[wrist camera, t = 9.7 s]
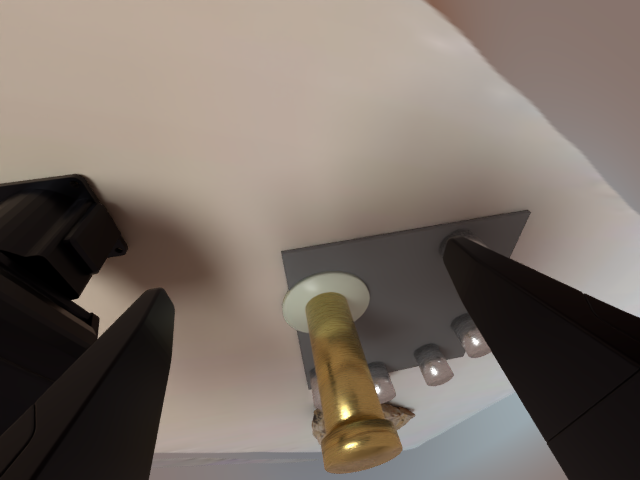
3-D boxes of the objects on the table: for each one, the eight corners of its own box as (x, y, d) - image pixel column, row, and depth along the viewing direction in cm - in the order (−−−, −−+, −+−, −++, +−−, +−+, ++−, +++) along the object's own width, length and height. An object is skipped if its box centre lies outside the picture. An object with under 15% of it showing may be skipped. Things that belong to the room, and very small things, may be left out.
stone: (298, 449, 44) (349, 451, 38) (299, 400, 48) (346, 395, 42) (378, 442, 57) (425, 443, 51) (374, 404, 60) (418, 401, 55)
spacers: (304, 376, 39) (308, 408, 36) (459, 223, 27) (486, 251, 23) (387, 388, 46) (397, 415, 43) (540, 271, 34) (569, 298, 31)
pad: (288, 335, 32) (289, 340, 32) (275, 280, 27) (276, 285, 26) (366, 320, 33) (367, 324, 33) (369, 263, 28) (371, 268, 27)
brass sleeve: (303, 327, 31) (326, 479, 21) (297, 294, 28) (322, 456, 18) (352, 318, 32) (398, 461, 22) (352, 284, 28) (407, 435, 18)
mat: (308, 387, 42) (308, 389, 41) (281, 251, 25) (281, 254, 25) (461, 353, 44) (463, 356, 44) (527, 210, 28) (530, 212, 27)
